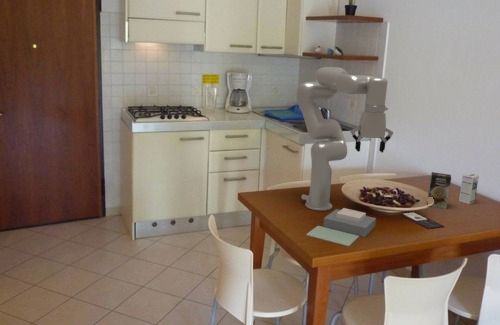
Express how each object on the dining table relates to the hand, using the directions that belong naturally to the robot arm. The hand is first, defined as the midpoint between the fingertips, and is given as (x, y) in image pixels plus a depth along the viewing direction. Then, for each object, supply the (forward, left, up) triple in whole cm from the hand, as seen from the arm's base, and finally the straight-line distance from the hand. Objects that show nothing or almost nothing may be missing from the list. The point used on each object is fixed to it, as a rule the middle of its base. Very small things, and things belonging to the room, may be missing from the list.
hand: (369, 151), depth 196 cm
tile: (-5, 0, -30) cm, 30 cm away
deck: (-5, -1, -34) cm, 34 cm away
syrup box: (+32, +71, -34) cm, 85 cm away
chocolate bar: (+19, +27, -34) cm, 48 cm away
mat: (-7, -15, -34) cm, 37 cm away
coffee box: (+21, +54, -34) cm, 67 cm away
